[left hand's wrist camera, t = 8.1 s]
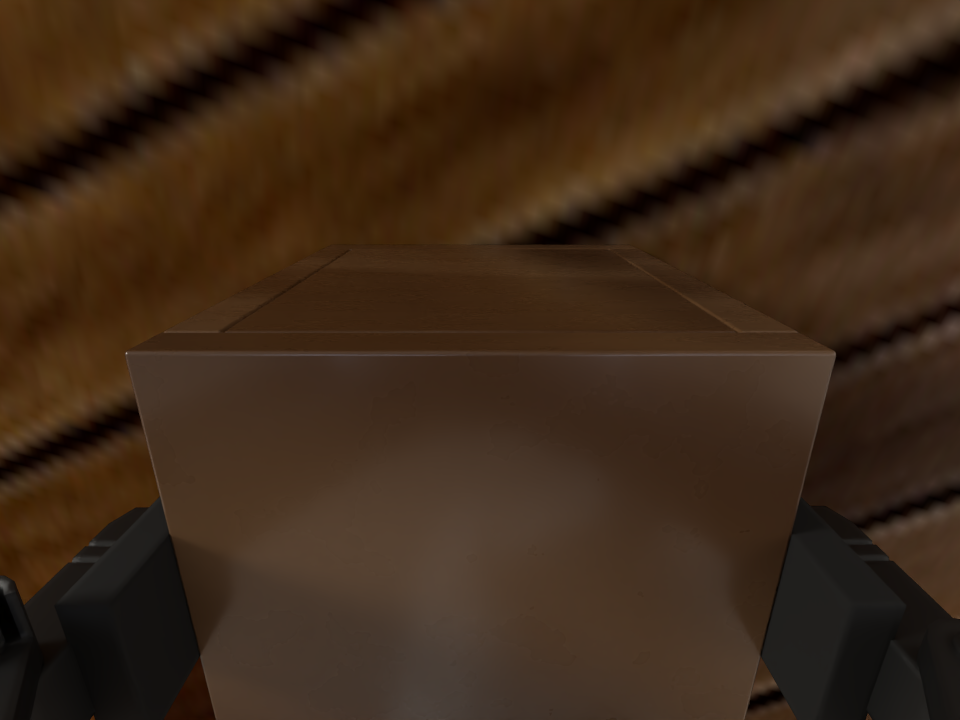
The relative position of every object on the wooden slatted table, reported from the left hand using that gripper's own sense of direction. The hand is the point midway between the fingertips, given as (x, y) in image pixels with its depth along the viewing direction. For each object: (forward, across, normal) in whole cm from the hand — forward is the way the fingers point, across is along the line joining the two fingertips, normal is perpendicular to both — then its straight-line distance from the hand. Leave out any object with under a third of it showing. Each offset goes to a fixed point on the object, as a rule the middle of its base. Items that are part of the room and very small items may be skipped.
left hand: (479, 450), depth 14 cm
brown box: (+6, 0, -4) cm, 7 cm away
